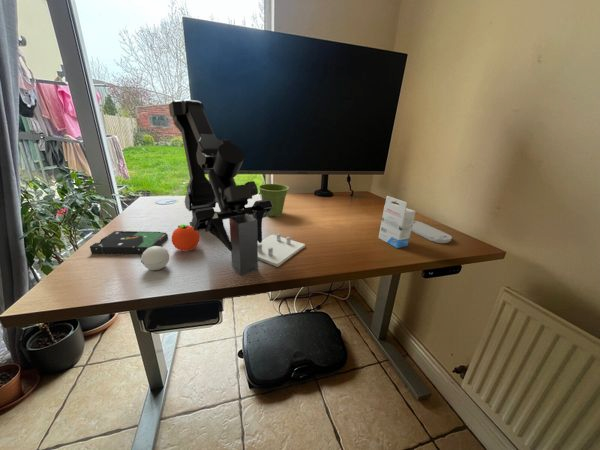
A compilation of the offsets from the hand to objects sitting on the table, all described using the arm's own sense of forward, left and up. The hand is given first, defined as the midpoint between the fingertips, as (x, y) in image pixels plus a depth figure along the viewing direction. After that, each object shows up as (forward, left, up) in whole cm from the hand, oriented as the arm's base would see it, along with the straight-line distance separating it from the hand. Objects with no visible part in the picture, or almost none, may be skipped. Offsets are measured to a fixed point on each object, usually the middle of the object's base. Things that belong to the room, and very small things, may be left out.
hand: (246, 246), depth 56 cm
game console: (+16, +63, -7) cm, 66 cm away
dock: (-5, +12, -7) cm, 14 cm away
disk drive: (-30, -19, -7) cm, 36 cm away
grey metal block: (-1, 0, -7) cm, 7 cm away
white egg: (-12, -17, -7) cm, 22 cm away
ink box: (+13, +46, -7) cm, 48 cm away
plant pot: (-30, +29, -7) cm, 43 cm away
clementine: (-19, -8, -7) cm, 22 cm away
